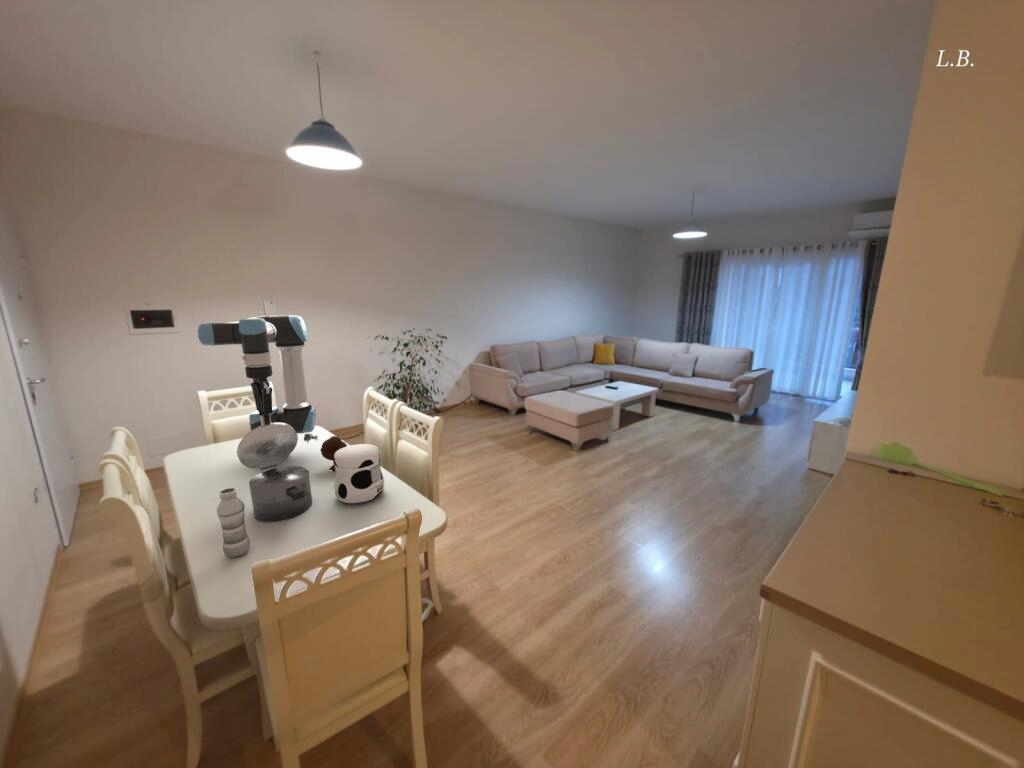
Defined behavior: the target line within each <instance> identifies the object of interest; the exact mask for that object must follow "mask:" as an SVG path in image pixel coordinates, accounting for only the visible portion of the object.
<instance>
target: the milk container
mask: <svg viewBox="0 0 1024 768" xmlns="http://www.w3.org/2000/svg"><path fill="white" fill-rule="evenodd" d="M380 456H381V455H380V450H379V447H378V446H377V445H374V444H372V443H371V444H370V443H359V444H358V443H357V444H352V445H347V446H346V447H344V448H341V449H339V450H338V451H336V453H335V454H334V462H335V471H334V472H335V481H334V494H335V496H336V499H337V500H339V502H341V503H343V504H347V505H358V504H365V503H369V502H371V501H373V500H375V499H377V498H378V497H380V495H382V493H383V491H384V489H385V478H384V475H383V472H382V469H381V459H380V458H381V457H380ZM334 462H333V463H334Z"/></svg>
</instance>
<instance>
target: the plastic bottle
mask: <svg viewBox="0 0 1024 768" xmlns="http://www.w3.org/2000/svg"><path fill="white" fill-rule="evenodd" d="M237 496H238V494H237V492H236V489H235V488H233V487H230V488H225V489H222V490H220V491H219V497H220V498H219V500H220V502H219V504H218V506H217V509H216V515H217V518H218V520H219V523H220V527H221V530H222V538H223V542H222V551H223V553H224V556H226V557H228V558H238V557H241V556H243V555H245V554H246V553H248V551H249V550H250V548H251V540H250V536H249V535H248V532H247V528H246V521H245V503H244V501H242V499H241V498H238V497H237Z"/></svg>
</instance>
